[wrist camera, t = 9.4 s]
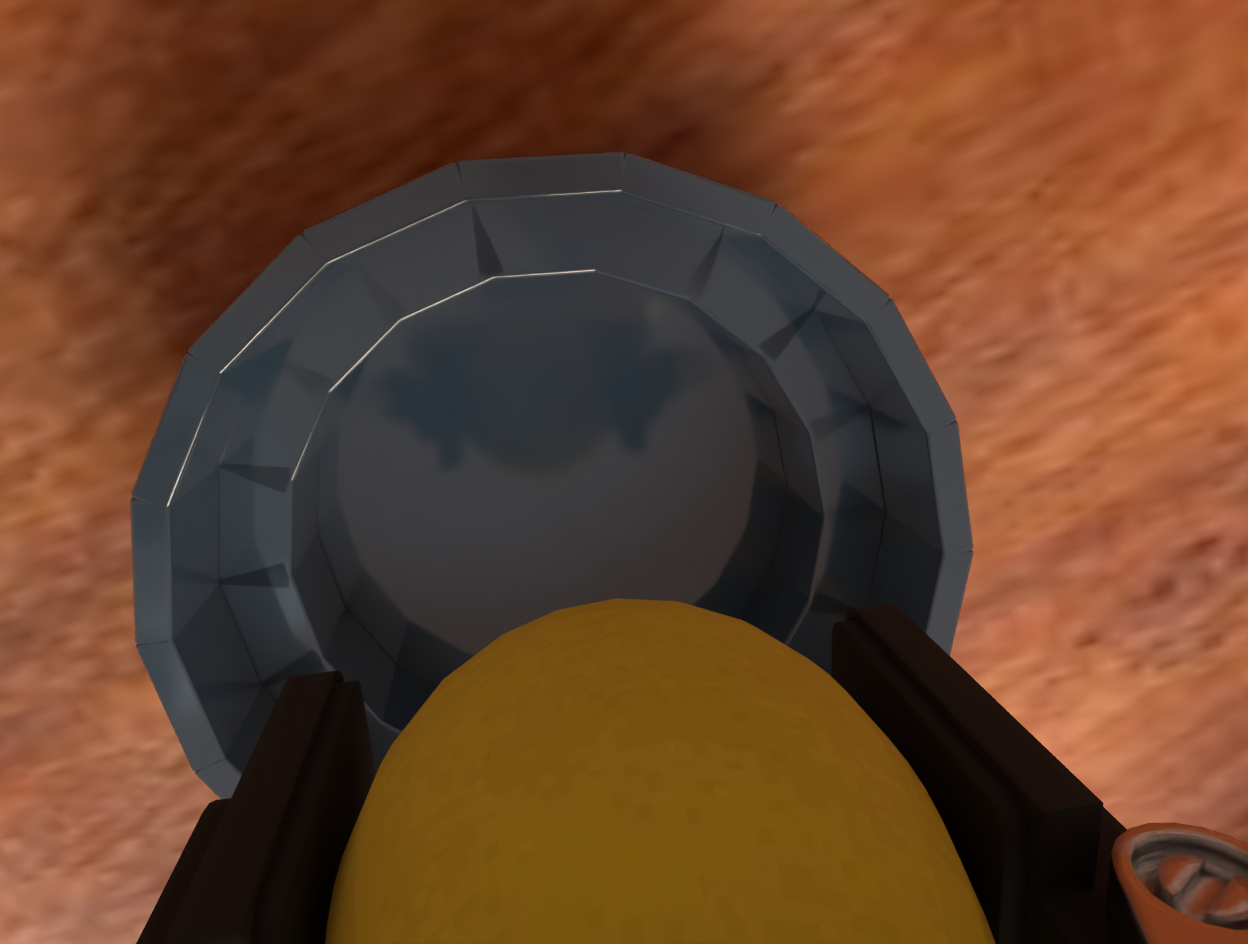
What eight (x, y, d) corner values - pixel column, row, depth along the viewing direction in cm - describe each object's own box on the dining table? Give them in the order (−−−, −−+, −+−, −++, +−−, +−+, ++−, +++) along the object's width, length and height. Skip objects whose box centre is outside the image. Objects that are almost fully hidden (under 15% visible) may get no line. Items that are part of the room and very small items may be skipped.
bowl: (166, 195, 17) (21, 183, 12) (860, 156, 19) (999, 130, 14) (288, 803, 21) (218, 992, 16) (851, 726, 23) (956, 876, 18)
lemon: (420, 901, 12) (287, 2060, 4) (353, 529, 10) (-32, 1335, 3) (803, 837, 13) (1263, 1762, 5) (794, 476, 11) (1438, 1027, 3)
